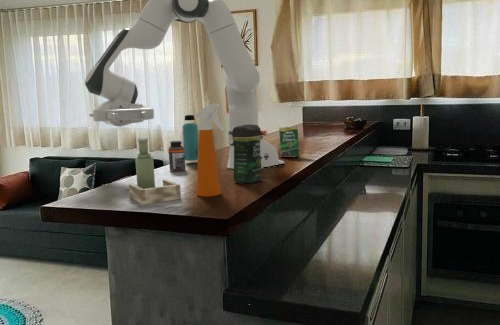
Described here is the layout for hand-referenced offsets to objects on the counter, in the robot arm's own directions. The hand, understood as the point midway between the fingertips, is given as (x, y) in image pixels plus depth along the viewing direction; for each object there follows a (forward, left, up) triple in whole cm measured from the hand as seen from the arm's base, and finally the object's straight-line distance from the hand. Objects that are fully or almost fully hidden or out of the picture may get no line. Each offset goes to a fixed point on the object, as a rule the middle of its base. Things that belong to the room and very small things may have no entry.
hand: (130, 115), depth 161 cm
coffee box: (-71, -13, -23) cm, 76 cm away
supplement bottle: (-21, -15, -23) cm, 35 cm away
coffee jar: (-31, +22, -23) cm, 44 cm away
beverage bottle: (-33, -29, -23) cm, 50 cm away
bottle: (0, +12, -23) cm, 26 cm away
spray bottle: (-13, +33, -23) cm, 42 cm away
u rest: (+2, +26, -23) cm, 35 cm away
